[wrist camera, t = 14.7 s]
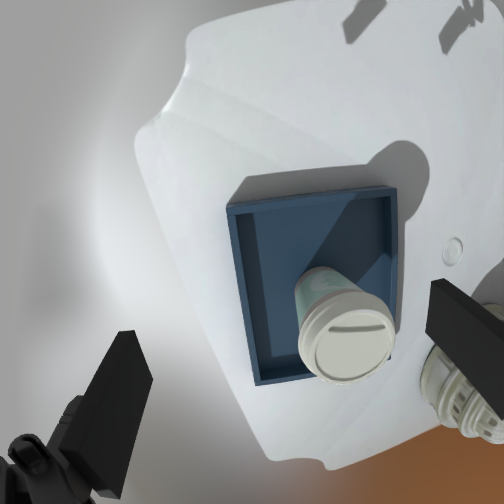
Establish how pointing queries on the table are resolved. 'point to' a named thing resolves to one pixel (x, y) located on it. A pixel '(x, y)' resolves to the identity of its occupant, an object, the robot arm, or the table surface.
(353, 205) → the tray
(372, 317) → the coffee cup
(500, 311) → the dome
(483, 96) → the table surface
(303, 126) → the table surface
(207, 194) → the table surface
